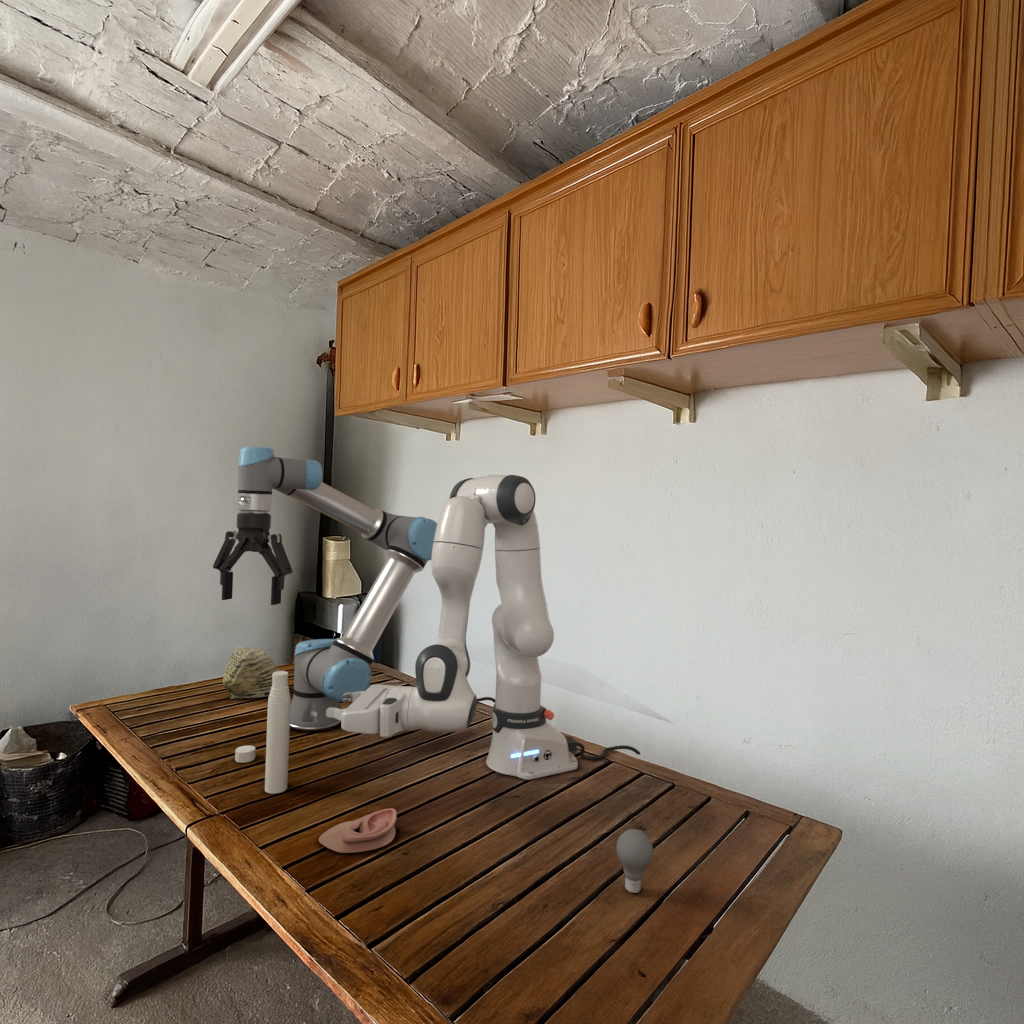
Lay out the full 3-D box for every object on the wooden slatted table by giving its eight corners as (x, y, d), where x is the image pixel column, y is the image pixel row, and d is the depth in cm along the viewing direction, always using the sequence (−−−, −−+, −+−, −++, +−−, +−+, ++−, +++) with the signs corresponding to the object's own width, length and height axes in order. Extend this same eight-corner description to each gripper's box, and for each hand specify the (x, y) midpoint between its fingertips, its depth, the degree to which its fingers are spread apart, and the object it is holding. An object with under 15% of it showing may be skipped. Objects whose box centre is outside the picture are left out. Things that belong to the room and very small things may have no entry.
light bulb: (610, 879, 108) (613, 822, 108) (644, 879, 109) (647, 822, 109) (619, 902, 102) (622, 840, 102) (655, 901, 103) (658, 840, 103)
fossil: (218, 695, 195) (220, 647, 195) (278, 685, 208) (279, 640, 207) (228, 703, 189) (230, 653, 188) (289, 692, 201) (290, 645, 201)
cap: (251, 753, 154) (251, 743, 154) (258, 759, 151) (258, 749, 151) (232, 758, 151) (232, 748, 151) (239, 764, 148) (239, 754, 148)
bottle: (291, 785, 138) (295, 671, 138) (279, 795, 134) (283, 676, 133) (273, 782, 139) (277, 669, 139) (260, 791, 135) (264, 674, 134)
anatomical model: (310, 826, 114) (340, 797, 125) (309, 848, 114) (339, 817, 125) (379, 837, 111) (403, 806, 122) (378, 859, 111) (403, 827, 123)
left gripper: (198, 509, 149) (195, 599, 150) (290, 515, 143) (287, 608, 143) (221, 509, 157) (218, 595, 157) (309, 514, 150) (306, 603, 150)
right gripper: (412, 678, 144) (352, 675, 145) (385, 708, 124) (317, 705, 125) (411, 706, 144) (352, 703, 145) (385, 740, 124) (316, 736, 125)
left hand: (251, 601), depth 150 cm, fingers open, 13 cm apart
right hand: (335, 704), depth 135 cm, fingers open, 8 cm apart
